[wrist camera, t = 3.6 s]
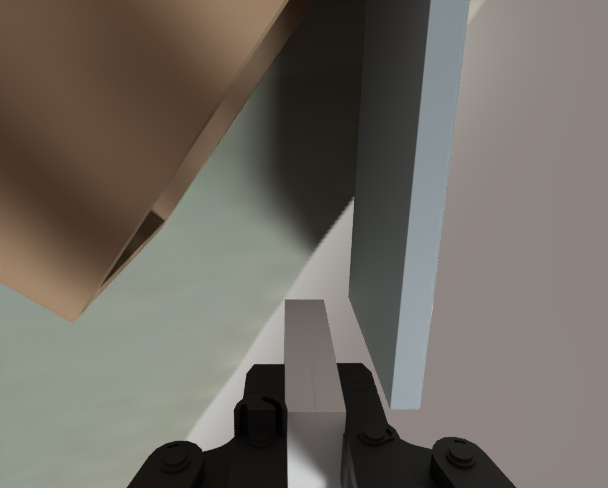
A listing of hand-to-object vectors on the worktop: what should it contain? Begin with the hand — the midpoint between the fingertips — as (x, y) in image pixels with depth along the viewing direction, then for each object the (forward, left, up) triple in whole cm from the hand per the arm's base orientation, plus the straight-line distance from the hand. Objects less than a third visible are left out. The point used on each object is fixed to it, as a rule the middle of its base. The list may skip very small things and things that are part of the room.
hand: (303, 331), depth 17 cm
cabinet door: (+8, 0, -10) cm, 13 cm away
